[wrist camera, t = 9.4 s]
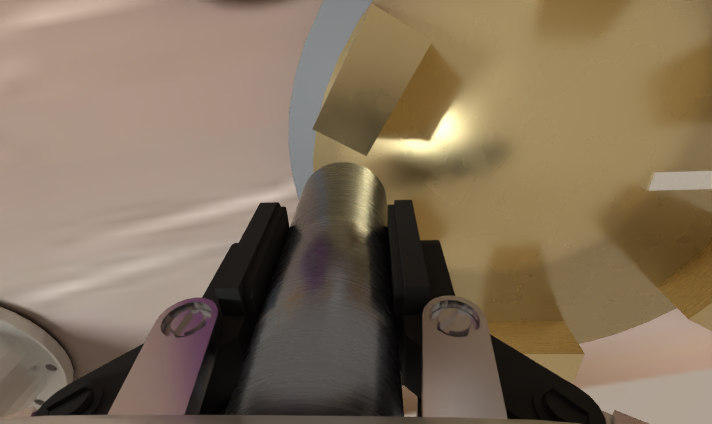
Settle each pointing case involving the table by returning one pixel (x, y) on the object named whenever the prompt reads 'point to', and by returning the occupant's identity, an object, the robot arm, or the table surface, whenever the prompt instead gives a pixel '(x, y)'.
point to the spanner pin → (328, 309)
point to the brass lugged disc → (541, 155)
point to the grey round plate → (317, 79)
